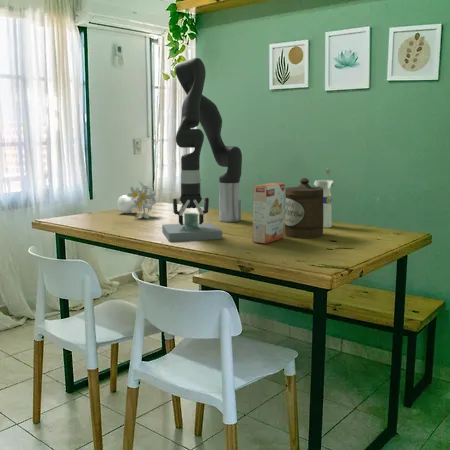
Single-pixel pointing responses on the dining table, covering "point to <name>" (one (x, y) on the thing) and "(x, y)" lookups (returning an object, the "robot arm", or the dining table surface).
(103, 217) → the dining table surface
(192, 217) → the teal block
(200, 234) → the pocket plate
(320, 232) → the wooden container
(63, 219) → the dining table surface
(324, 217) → the white spray bottle
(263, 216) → the cracker box
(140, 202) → the flower vase
